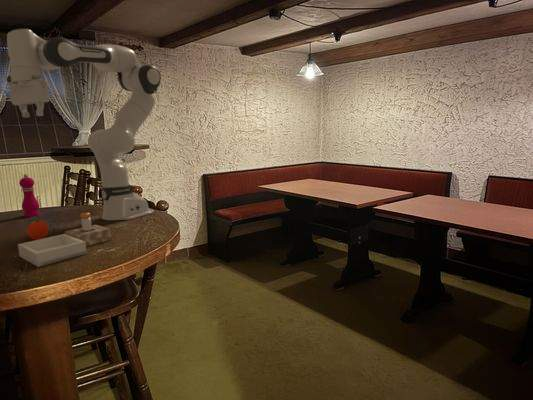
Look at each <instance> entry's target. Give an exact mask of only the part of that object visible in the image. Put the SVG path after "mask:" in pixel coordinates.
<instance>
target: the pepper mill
mask: <svg viewBox="0 0 533 400" xmlns="http://www.w3.org/2000/svg"><path fill="white" fill-rule="evenodd" d="M18 184H19V186H20V187H21V191H22V193H23V199H22V203H21V209H22V210H23V211H24V213H23V216H24V217H25V218H33V217H38V216H40V211H39V209H40V203H39V201H38V200H37V198H36V197H35V194H34V191H35V188H34V185H35V180H34V179H33V178H32V177H29V174H28V173H25V174H23V177H22V178H20V180H19V183H18Z"/></svg>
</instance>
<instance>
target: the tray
mask: <svg viewBox="0 0 533 400" xmlns="http://www.w3.org/2000/svg"><path fill="white" fill-rule="evenodd" d="M17 248H18V254H19V257H20V258H22V259H24V260H25V261H27V262H29V263H31V264H32V265H34V266H35V267H38V268H39V267H40V268H41V267H42V266H47V265H50V264H53V263H58V262H61V261H64V260H68V259H69V260H70V259H73V258H77V257H80V256H84V255H87V254H88V252H87V251H88V250H87V246H86V244H85V241H82V240H80V239H77V238H74V237H71V236H69V235H66V234H65V233H62V234H59V235H53V236H49V237H45V238H43V239H39V240H31V241H28V242H22V243H17Z"/></svg>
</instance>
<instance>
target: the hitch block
mask: <svg viewBox="0 0 533 400" xmlns="http://www.w3.org/2000/svg"><path fill="white" fill-rule="evenodd" d="M64 234H66V235H69V236H71V237H74V238H77V239H80V240H82V241H85V244H86V247H88V246H92V245H97V244H100V243H105V242H108V241H111V240H112V236H111V235H112V233H111V228H109V227H105V226H101V225H99V224H93V225H92V231H88V232H83V229H82V227H80V228H74V229H71V230H70V229H69V230H66V231H64Z"/></svg>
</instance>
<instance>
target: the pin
mask: <svg viewBox="0 0 533 400" xmlns="http://www.w3.org/2000/svg"><path fill="white" fill-rule="evenodd" d="M80 220H81V228H82V229H83V232H88V231H92V224H93V223H92V218H91V212H82V213H80Z"/></svg>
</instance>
